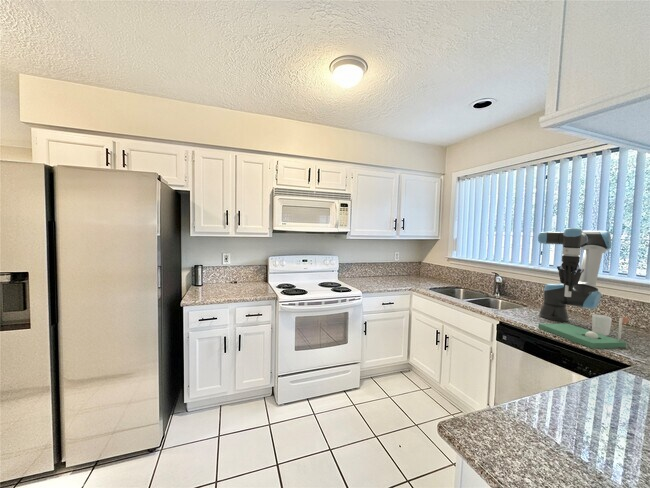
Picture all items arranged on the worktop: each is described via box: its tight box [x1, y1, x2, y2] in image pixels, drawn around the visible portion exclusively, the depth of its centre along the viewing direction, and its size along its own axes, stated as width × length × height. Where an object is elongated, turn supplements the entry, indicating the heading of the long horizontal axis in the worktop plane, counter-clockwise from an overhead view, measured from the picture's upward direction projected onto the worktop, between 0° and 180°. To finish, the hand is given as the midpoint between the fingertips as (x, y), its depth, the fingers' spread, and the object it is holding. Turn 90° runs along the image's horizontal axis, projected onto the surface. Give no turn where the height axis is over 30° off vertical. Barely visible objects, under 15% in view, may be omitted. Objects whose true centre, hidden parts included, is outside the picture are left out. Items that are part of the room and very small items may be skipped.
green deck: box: [538, 317, 629, 349], centre depth 146 cm, size 22×28×14 cm
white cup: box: [591, 313, 613, 337], centre depth 153 cm, size 8×8×10 cm
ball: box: [585, 330, 598, 339], centre depth 141 cm, size 5×5×5 cm
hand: (567, 296), depth 153 cm, fingers closed
